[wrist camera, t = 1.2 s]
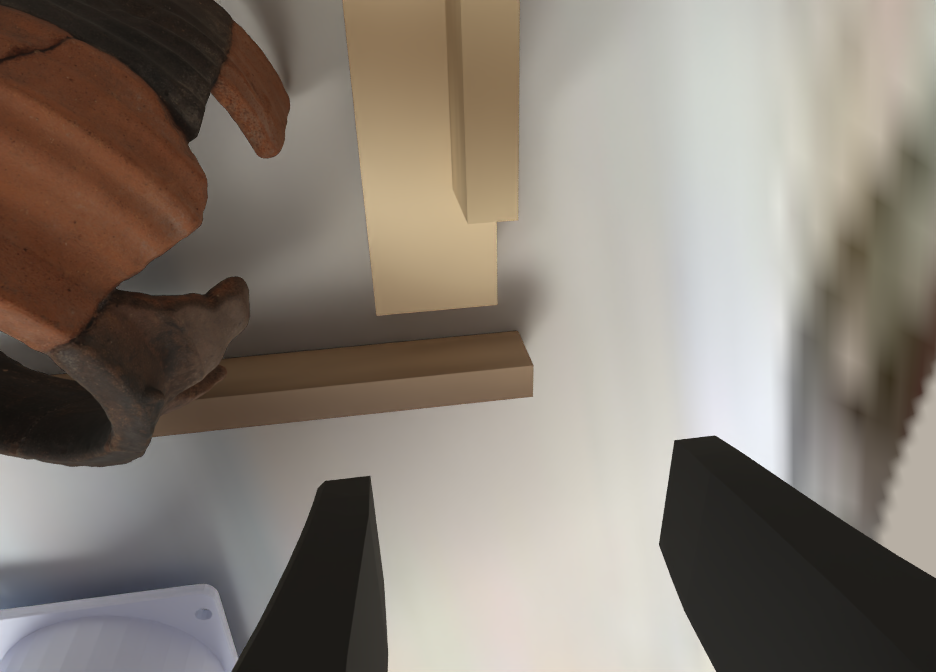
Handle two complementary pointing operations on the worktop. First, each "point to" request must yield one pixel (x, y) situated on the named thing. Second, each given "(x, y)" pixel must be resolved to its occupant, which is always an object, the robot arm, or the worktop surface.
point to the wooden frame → (357, 382)
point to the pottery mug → (113, 213)
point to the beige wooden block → (435, 144)
